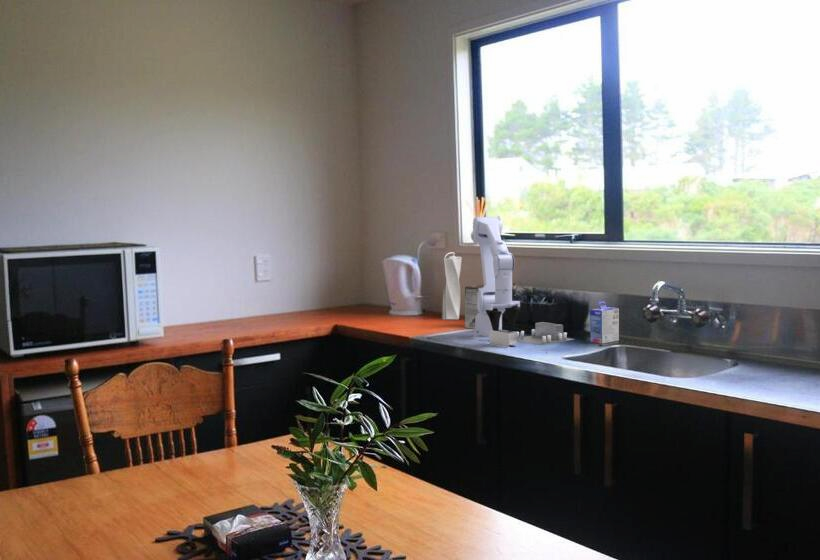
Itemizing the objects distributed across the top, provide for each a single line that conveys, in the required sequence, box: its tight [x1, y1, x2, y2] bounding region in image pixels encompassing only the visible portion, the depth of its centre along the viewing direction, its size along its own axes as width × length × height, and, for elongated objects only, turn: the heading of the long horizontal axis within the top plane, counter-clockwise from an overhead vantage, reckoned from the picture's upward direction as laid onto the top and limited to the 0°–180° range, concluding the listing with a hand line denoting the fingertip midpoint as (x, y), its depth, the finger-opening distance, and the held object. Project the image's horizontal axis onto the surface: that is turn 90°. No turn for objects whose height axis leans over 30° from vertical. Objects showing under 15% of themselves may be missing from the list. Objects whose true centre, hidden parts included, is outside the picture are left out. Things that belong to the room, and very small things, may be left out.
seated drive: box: [534, 321, 564, 340], centre depth 277 cm, size 9×4×5 cm, turn 40°
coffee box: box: [464, 284, 484, 330], centre depth 309 cm, size 9×6×16 cm
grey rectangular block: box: [488, 329, 518, 348], centre depth 269 cm, size 9×4×5 cm, turn 40°
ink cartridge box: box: [589, 300, 620, 347], centre depth 271 cm, size 10×6×14 cm, turn 130°
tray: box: [516, 328, 576, 346], centre depth 275 cm, size 15×18×4 cm
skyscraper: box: [441, 251, 463, 321], centre depth 332 cm, size 8×8×28 cm
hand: (503, 329), depth 269 cm, fingers open, 7 cm apart
